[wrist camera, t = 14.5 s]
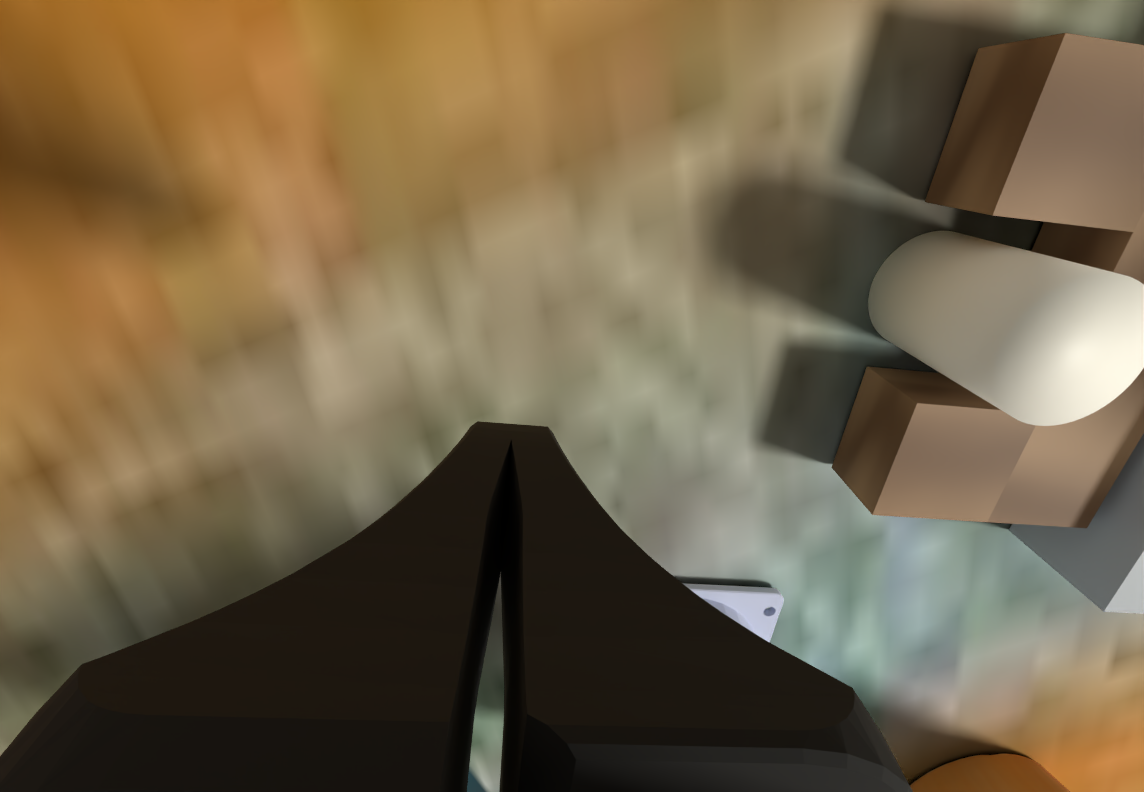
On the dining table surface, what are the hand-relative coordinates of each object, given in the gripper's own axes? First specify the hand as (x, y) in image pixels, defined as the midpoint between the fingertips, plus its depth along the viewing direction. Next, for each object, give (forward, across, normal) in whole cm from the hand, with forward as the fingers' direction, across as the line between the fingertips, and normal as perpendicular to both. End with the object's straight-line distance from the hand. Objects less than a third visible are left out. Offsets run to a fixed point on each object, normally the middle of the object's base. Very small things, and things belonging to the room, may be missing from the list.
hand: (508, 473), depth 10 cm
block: (+10, -16, -2) cm, 19 cm away
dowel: (+10, -14, -2) cm, 17 cm away
